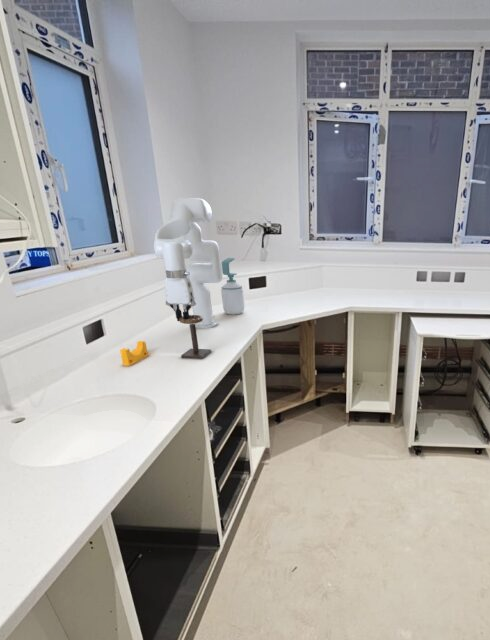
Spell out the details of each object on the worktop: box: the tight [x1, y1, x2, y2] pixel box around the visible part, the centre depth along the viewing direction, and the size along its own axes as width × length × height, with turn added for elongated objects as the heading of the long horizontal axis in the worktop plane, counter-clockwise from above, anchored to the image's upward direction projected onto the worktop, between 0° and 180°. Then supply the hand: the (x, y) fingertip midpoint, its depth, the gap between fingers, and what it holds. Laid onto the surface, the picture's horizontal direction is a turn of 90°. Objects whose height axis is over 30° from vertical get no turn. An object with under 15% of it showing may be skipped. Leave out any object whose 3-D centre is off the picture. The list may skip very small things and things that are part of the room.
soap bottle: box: [220, 257, 245, 316], centre depth 232 cm, size 12×12×31 cm
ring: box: [178, 314, 203, 325], centre depth 164 cm, size 9×9×2 cm
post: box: [180, 324, 212, 360], centre depth 167 cm, size 9×9×13 cm
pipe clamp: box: [119, 340, 149, 367], centre depth 162 cm, size 12×4×6 cm, turn 168°
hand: (183, 320), depth 164 cm, fingers closed on ring, 2 cm apart
